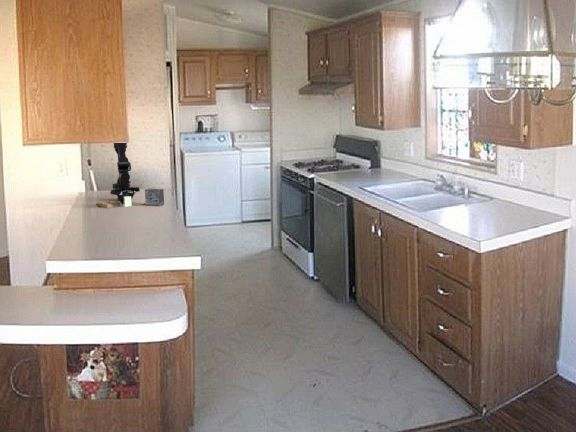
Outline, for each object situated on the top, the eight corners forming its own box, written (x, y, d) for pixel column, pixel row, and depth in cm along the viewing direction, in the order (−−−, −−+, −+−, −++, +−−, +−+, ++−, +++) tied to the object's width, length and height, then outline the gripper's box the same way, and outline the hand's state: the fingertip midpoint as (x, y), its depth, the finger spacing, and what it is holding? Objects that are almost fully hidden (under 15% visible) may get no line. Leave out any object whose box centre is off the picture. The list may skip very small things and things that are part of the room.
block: (127, 205, 438) (126, 195, 437) (131, 205, 434) (131, 196, 433) (120, 206, 434) (119, 196, 433) (125, 206, 431) (124, 197, 430)
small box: (164, 204, 437) (164, 188, 435) (159, 206, 431) (159, 190, 429) (150, 204, 440) (149, 188, 438) (145, 205, 434) (144, 189, 432)
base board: (112, 203, 444) (112, 200, 444) (123, 205, 436) (123, 202, 436) (96, 206, 435) (96, 203, 435) (107, 208, 427) (107, 204, 427)
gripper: (129, 177, 443) (130, 201, 446) (104, 180, 429) (106, 204, 432) (139, 178, 436) (140, 202, 439) (114, 181, 422) (116, 206, 425)
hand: (126, 204), depth 434 cm, fingers closed on block, 5 cm apart
